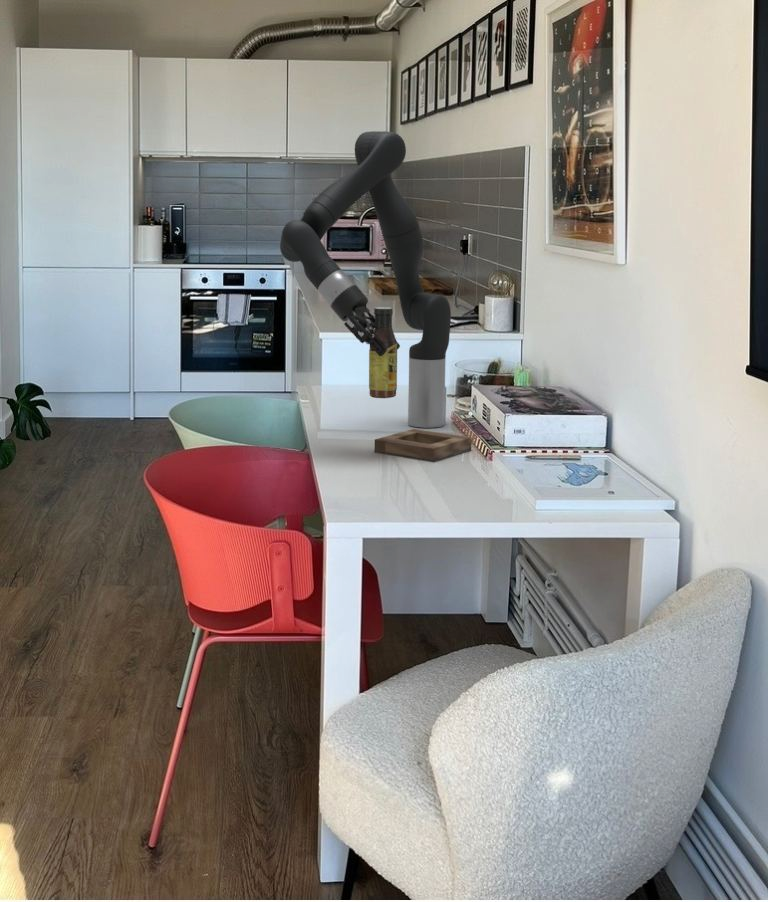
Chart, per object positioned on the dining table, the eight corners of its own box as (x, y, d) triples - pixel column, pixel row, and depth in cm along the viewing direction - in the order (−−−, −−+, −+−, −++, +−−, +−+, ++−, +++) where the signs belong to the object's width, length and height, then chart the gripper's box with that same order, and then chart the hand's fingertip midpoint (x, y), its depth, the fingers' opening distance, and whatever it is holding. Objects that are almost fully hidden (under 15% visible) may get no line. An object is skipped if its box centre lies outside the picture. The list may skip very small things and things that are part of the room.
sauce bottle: (393, 400, 266) (394, 310, 262) (366, 398, 268) (366, 309, 263) (399, 394, 273) (400, 306, 268) (372, 393, 274) (372, 305, 269)
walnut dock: (413, 441, 288) (413, 428, 287) (471, 450, 279) (471, 437, 278) (374, 452, 275) (374, 439, 274) (433, 461, 266) (433, 448, 265)
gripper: (338, 286, 261) (387, 344, 259) (367, 281, 274) (414, 336, 272) (316, 309, 265) (365, 367, 263) (346, 303, 278) (393, 358, 275)
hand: (390, 351), depth 267 cm, fingers closed on sauce bottle, 6 cm apart
